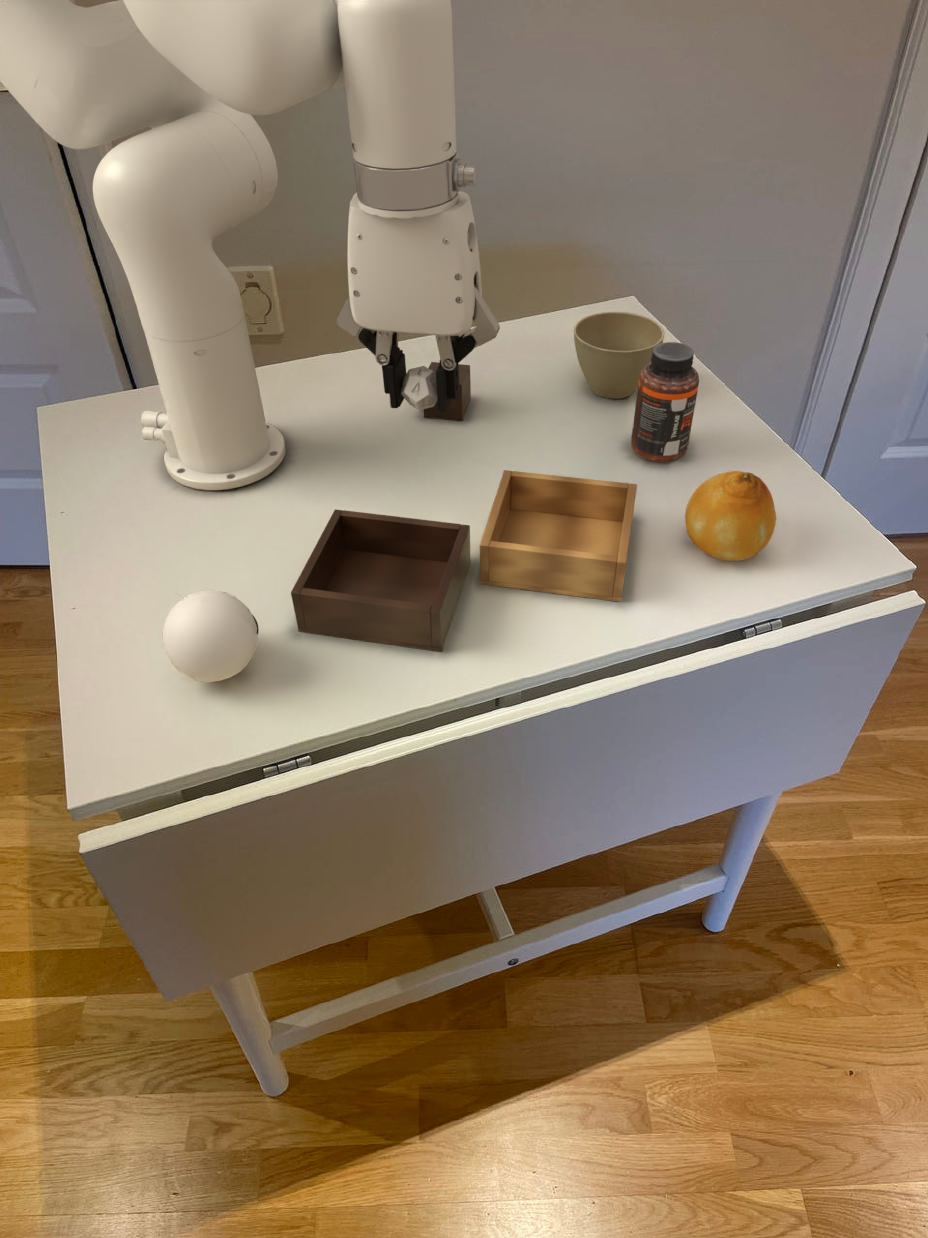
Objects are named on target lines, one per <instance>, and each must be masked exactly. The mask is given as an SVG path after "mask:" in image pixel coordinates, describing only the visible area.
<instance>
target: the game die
mask: <svg viewBox="0 0 928 1238" xmlns="http://www.w3.org/2000/svg"><path fill="white" fill-rule="evenodd" d="M401 395H402V396H403V397H404V401H406V402H407V404H409V405H410V406H411V407H413V408H415V410H418V411H423V409H426V408H430V407H434V405H435V404H436V402H437V385H436V374H435V372H434V371H432V370H431V369H429V367H427V366H425V365H421V366H416V367H413V368H412V367H411V368H408V370H407V371H406V376H405V377H404V380H403V385H402V389H401Z"/></svg>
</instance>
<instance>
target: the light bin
mask: <svg viewBox="0 0 928 1238" xmlns="http://www.w3.org/2000/svg"><path fill="white" fill-rule="evenodd" d="M500 478H501V479H500V482H499V484H498V488H497V491H496V494H495V497H494V500H493V503H492V506H491V509H490V512H489V515H488V517H487V521H486V525H485V528H484V531H483V534H482V536H481V537H482V538H481V540H480V543H479V584H480V585H486V586H494V587H501V588H502V587H503V588H508V589H509V588H510V589H518V590H526V591H534V592H541V593H548V594H556V595H565V596H573V597H581V598H586V599H588V598H589V599H596V600H602V601H611V602H619V603H621V602H622V599H623V591H624V584H625V577H626V570H627V563H628V556H629V550H630V549H629V547H630V541H631V535H632V534H631V533H632V527H633V519H634V512H635V505H636V504H635V503H636V497H637V490H638V484H637V483H628V482H621V481H612V480H600V479H593V478H592V479H591V478H583V477H573V476H563V475H555V474H545V473H538V472H537V473H536V472H535V473H534V472H527V471H519V470H518V471H517V470H510V469H509V470H507V469H504V470H503V473H502V475H501V477H500Z"/></svg>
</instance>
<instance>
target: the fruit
mask: <svg viewBox="0 0 928 1238" xmlns="http://www.w3.org/2000/svg"><path fill="white" fill-rule="evenodd" d="M772 495H773V494H772V493H771V490H770V489H769V487H768V486H767V484H766V483H765V481H764V480H763V479H761V477H759V476H757V475H755V474H754V473H753V472H747V471H741V470H730V471H725V472H721V473H717V474H715V475H712V476H711V477H709V478H708V479H706V480H705V481H703V482H702V483H701V484H700V485H699V486H698V487H697V488H696V489H695V491H694V492H693V493H692V495H691V496H690V498H689V499H688V502H687V504H686V507H685V512H684V514H685V515H684V523H685V528H686V532H687V535H688V537H689V538H690V540H691V542H692V543H693V544H694V545H695V546H696V548H697V549H698V550H700V551H701V552H703V553H705V554H707V555H708V556H710V557H712V558H715V559H719V560H722V561H728V562H729V561H730V562H738V561H743V560H744V561H745V560H749V559H750V558H753V557H754V556H755V557H756V555H758V554H759V553H760V552H761V551H762V550H764V548H765V547H767V546H768V544H769V542H770V540H771V539H772V537H773V535H774V533H775V528H776V523H777V512H776V509H775V507H776V506H775V502H774V498H773V496H772Z"/></svg>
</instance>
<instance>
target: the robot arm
mask: <svg viewBox="0 0 928 1238" xmlns="http://www.w3.org/2000/svg"><path fill="white" fill-rule="evenodd" d="M452 12H453V11H452V1H451V0H114V1H109V2H105V3H101V4H96V5H93V6H90V7H86V6H80V5H76V4H74V3H73V2H72V1H70V0H0V83H1V84H2V85H3V87H4V88H5V89H6V90H7V91H8V92H9V93H10V94H11V96H12V97H13V98H14V99H15V101H16V102H17V103H18V104H19V105H20V106H21V107H22V108H23V109H24V111H25V112H26V113H27V114H28V115H29V116H30V117H31V119H32V120H34V121H35V123H36V124H37V125H38V126H39V127H40V128H41V129H42V130H43V131H44V132H45V133H46V134H47V135H48V136H49V137H50V138H51V139H52V140H54V141H55V142H56V143H58V144H59V145H62V146H63V147H65V148H68V149H73V150H87V149H91V148H95V147H99V146H101V145H105V144H108V143H111V142H114V141H116V140H118V139H121V138H123V137H126V136H129V135H131V134H133V133H136V132H138V131H141V130H145V129H147V128H151V129H148V130H146V131H143V132H141V133H139V134H136V135H134V136H131V137H129V138H128V139H126V140H123V141H121V142H120V143H118V144H117V145H116V146H114V147H113V148H111V150H109V151H108V152H107V153H106V154H105V155H104V156H103V158H102V159H101V160H100V161H99V163H98V165H97V167H96V169H95V172H94V175H93V180H92V198H93V202H94V205H95V209H96V211H97V215H98V218H99V220H100V222H101V224H102V226H103V228H104V230H105V232H106V234H107V236H108V238H109V240H110V242H111V244H112V245H113V248H114V250H115V252H116V254H117V256H118V258H119V261H120V263H121V265H122V268H123V271H124V273H125V276H126V278H127V281H128V284H129V288H130V290H131V293H132V296H133V299H134V303H135V306H136V309H137V313H138V317H139V320H140V323H141V327H142V329H143V332H144V336H145V339H146V340H145V341H146V344H147V348H148V350H149V354H150V359H151V361H152V365H153V368H154V372H155V376H156V379H157V383H158V387H159V390H160V393H161V394H160V395H161V397H162V401H163V405H164V408H165V411H166V413H164V412H163V411H153V410H144V411H143V412H142V413H141V416H140V417H141V418H140V422H141V426H142V429H141V435H142V436H141V437H142V439H143V440H144V441H154V442H157V441H159V442H163V444H164V445H166V449H165V451H164V456H163V458H164V459H163V460H164V465H165V468H166V471H167V473H168V474H169V476H170V477H171V479H173V480H174V481H176V482H177V483H179V484H181V485H183V486H185V487H187V488H192V489H196V490H203V491H222V490H224V491H225V490H232V489H236V488H241V487H244V486H248V485H250V484H254V483H256V482H258V481H260V480H263V479H264V478H266V477H267V476H268V475H270V474H271V473H273V472H274V471H275V470H276V469H277V468H278V467H279V466H280V464H281V463H282V462H283V460H284V458H285V456H286V450H287V449H286V444H285V443H286V442H285V437H284V435H283V434H282V432H281V431H280V430H279V429H278V428H277V427H276V426H274V425H273V424H271V423H269V422H267V421H266V417H265V412H264V407H263V406H264V405H263V402H262V396H261V391H260V386H259V380H258V375H257V372H256V371H257V370H256V365H255V359H254V355H253V350H252V345H251V340H250V335H249V330H248V324H247V319H246V315H245V310H244V306H243V301H242V296H241V292H240V289H239V286H238V284H237V282H236V279H235V278H234V276H233V274H232V273H231V271H230V270H229V269H228V268H227V266H226V265H225V264H224V263H223V262H222V260H220V258H219V256H218V255H217V254H216V252H215V251H214V247H213V241H214V240H215V239H216V238H218V237H219V236H221V235H223V234H224V233H225V232H227V231H229V230H231V229H233V228H234V227H236V226H238V225H240V224H242V223H244V222H246V221H247V220H249V219H250V218H251V219H252V217H254V216H256V215H257V214H259V213H260V212H262V211H263V210H264V209H265V208H266V207H267V206H268V205H270V203H271V201H272V200H273V198H274V196H275V194H276V191H277V188H278V182H279V172H278V165H277V161H276V157H275V153H274V151H273V148H272V146H271V143H270V142H269V140H268V138H267V136H266V134H265V133H264V131H263V130H262V128H261V127H260V125H259V124H258V122H257V121H256V119H255V118H254V117H253V116H270V115H273V114H275V113H276V114H277V113H279V112H281V111H283V110H284V111H285V110H287V109H289V108H291V107H293V106H295V105H297V104H300V103H302V102H304V101H305V100H308V99H310V98H312V97H314V96H319V95H322V94H325V93H328V92H332V91H333V90H337V89H339V88H342V87H345V95H346V96H345V97H346V105H347V114H348V123H349V131H350V132H349V133H350V141H351V149H352V151H351V152H352V159H353V160H352V161H353V168H354V169H353V170H354V178H355V189H356V192H355V193H354V194H353V196H352V198H351V199H350V201H349V210H348V223H347V225H348V226H347V281H348V297H347V298H346V300H345V302H344V304H343V306H342V308H341V311H340V312H339V314H338V316H337V319H336V325H337V327H338V328H340V329H341V330H343V331H344V332H346V333H347V334H349V335H350V336H352V337H354V338H357V339H358V340H359V341H358V342H360V343H361V344H362V345H363V346H364V347H365V348H366V349H367V350H368V351H369V352H371V353H372V355H374V356H375V361H376V363H377V364H378V365H380V366H381V371H382V380H383V391H384V393H385V394H386V395H389V404H390V408H391V409H399V408H400V407H401V406H402V404H403V402H404V401H405V398H404V397H403V396H402V395H401V389H402V385H403V380H404V377H405V376H406V374H407V364H406V354H405V353H404V350H403V349H401V348H400V347H399V339H400V337H399V336H400V334H412V335H426V336H427V335H428V336H435V341H436V345H437V350H438V354H439V363H440V364H439V366H438V368H437V370H436V385H437V401H438V410H439V411H440V412H443V413H447V411H448V409H449V406H450V404H451V402H452V400H453V399H457V398H458V395H459V367H458V364H460V362H462V361H463V360H464V359H465V358H467V356H469V354H471V353H472V352H473V350H474V349H476V348H478V347H481V346H484V345H485V344H487V343H489V342H491V341H493V340H495V339H496V338H497V336H498V334H499V331H500V329H501V325H500V323H499V322H498V320H497V319H496V316H495V315H494V314H493V312H492V310H491V309H490V307H489V306H488V303H487V302H486V301H485V299H484V297H483V285H482V274H481V273H482V272H481V262H480V261H481V260H480V251H479V244H478V243H479V242H478V241H479V240H478V236H477V228H476V222H475V217H474V211H473V207H472V202H471V199H470V198H471V197H470V195H469V193H466V192H464V191H461V189H462V188H466V187H467V186H468V187H476V185H477V182H478V169H477V166H476V165H469V164H467V163H466V162H462V158H460V150H457V126H456V125H457V123H456V122H457V121H456V120H457V119H456V93H455V90H456V89H455V64H454V38H453V37H454V34H453V13H452ZM473 323H474V324H475V326H474V327H473ZM472 327H473V328H472Z"/></svg>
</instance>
